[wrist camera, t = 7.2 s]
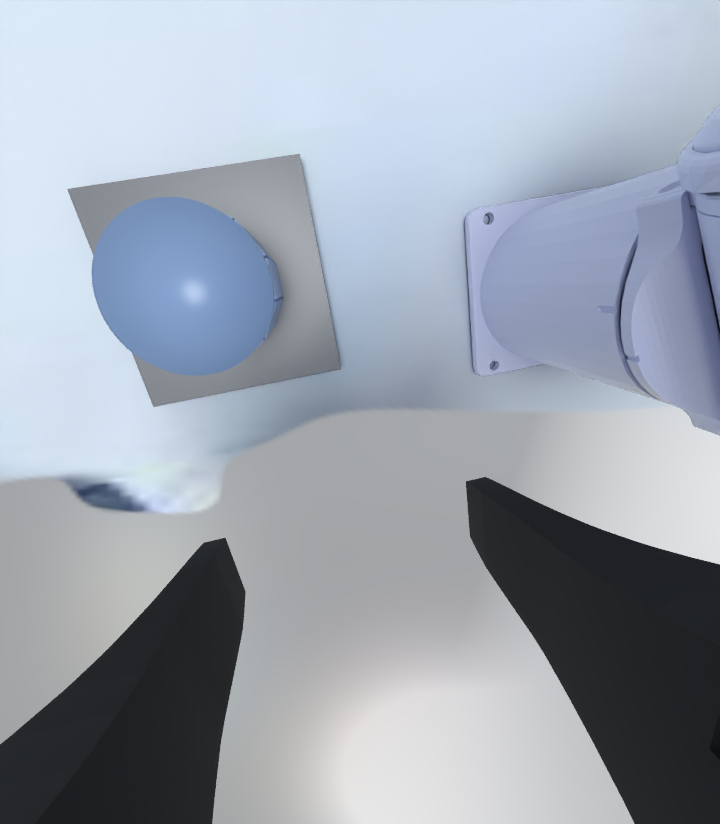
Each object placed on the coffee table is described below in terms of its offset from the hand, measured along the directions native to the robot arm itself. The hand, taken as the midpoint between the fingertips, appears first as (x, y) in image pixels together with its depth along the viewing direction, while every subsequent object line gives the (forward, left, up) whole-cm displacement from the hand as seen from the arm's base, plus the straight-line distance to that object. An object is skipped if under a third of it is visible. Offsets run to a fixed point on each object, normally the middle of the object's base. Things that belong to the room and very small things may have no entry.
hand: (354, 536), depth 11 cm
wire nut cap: (+4, -8, -9) cm, 12 cm away
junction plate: (+4, -8, -9) cm, 13 cm away
